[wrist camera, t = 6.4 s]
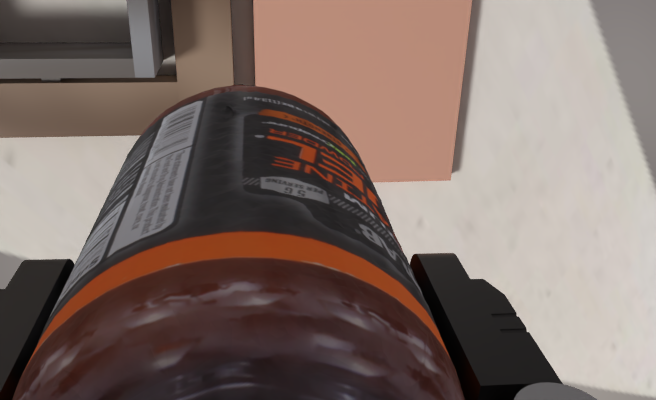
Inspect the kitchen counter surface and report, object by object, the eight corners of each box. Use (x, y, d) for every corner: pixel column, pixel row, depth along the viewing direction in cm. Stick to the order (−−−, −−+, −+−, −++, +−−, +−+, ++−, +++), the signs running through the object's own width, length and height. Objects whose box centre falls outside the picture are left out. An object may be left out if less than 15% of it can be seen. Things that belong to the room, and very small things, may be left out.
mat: (252, -26, 28) (252, -24, 27) (470, -23, 29) (474, -22, 28) (258, 180, 32) (258, 185, 32) (447, 175, 33) (450, 180, 33)
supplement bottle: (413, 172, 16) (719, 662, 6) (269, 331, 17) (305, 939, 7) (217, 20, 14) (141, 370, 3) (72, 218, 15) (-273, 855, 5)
